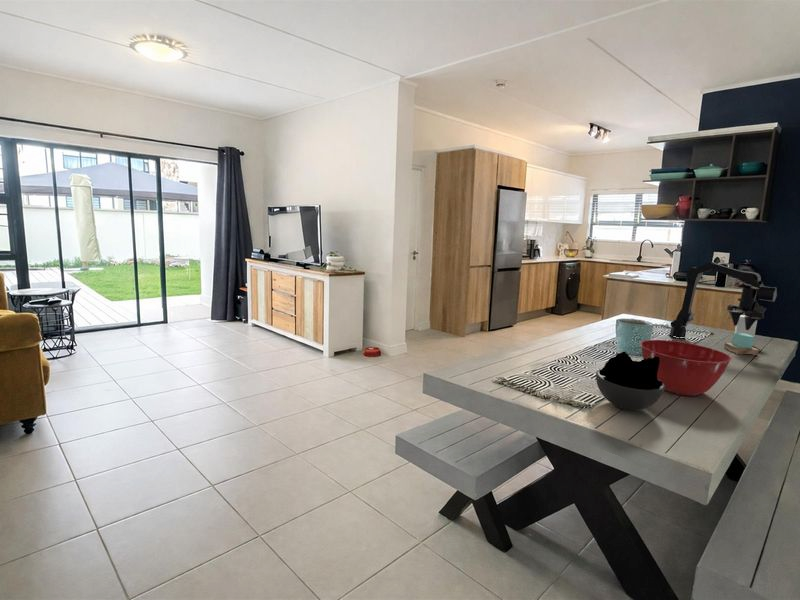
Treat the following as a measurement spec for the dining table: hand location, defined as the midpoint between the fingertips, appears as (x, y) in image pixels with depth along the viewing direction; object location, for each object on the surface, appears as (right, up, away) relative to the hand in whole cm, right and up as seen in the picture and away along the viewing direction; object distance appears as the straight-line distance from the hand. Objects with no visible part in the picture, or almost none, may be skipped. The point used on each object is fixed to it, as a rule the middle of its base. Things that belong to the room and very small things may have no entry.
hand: (741, 327), depth 220 cm
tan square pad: (0, -12, 0) cm, 12 cm away
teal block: (0, -9, 0) cm, 9 cm away
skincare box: (+14, -10, +17) cm, 24 cm away
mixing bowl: (-69, -20, -57) cm, 92 cm away
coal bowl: (-99, -22, -77) cm, 127 cm away
